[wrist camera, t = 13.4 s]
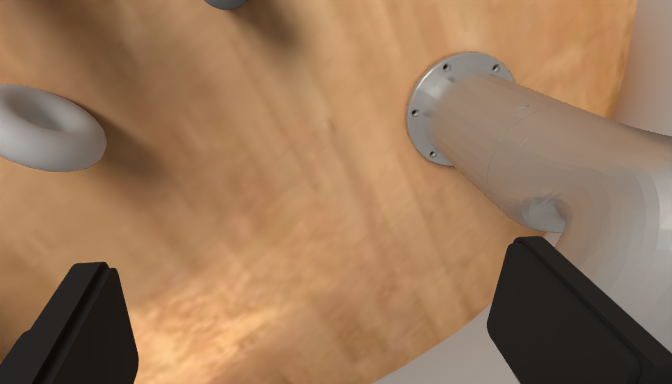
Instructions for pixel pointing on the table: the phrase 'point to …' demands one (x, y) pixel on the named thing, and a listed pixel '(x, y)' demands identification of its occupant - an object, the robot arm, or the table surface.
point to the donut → (47, 131)
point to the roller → (225, 4)
